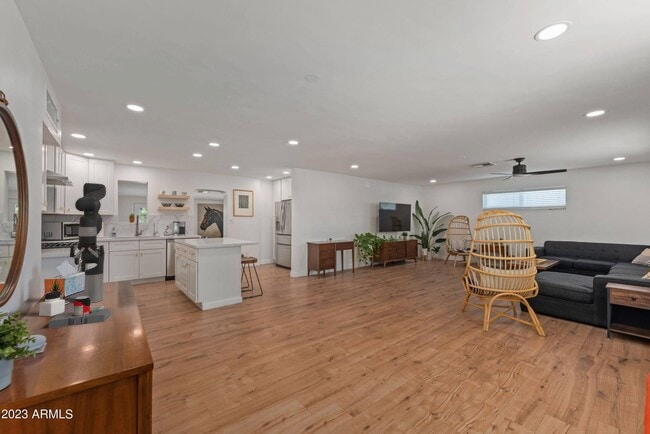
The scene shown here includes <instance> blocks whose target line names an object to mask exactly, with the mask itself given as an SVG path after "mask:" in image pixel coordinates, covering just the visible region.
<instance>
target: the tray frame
mask: <svg viewBox="0 0 650 434" xmlns="http://www.w3.org/2000/svg"><path fill="white" fill-rule="evenodd" d="M97 309H105V305H98V306H90V310H97ZM72 312H74V310H73V311H72Z"/></svg>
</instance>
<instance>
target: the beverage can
mask: <svg viewBox="0 0 650 434" xmlns="http://www.w3.org/2000/svg"><path fill="white" fill-rule="evenodd" d="M90 307H91V303H90V299H89V296H84V295H83V296H78V297H75V299H74V301H73V311H74V313H73V316H74V317H77V316H84V315H88V314H90Z"/></svg>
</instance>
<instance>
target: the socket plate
mask: <svg viewBox="0 0 650 434" xmlns="http://www.w3.org/2000/svg"><path fill="white" fill-rule="evenodd" d="M111 310H112V308H111V307H107V308H104V309H97V310H90V314H88V315H84V316H77V317H74V316H73V313H74V312H73V311H71V312H69V311H68V312H64V313H60V314H57V315H54V316H53V317H52V318H50V319H49V320H48V329H54V328H63V327H69V326H80V325H85V324H96V323H97V324H98V323H104V322H105V321H107V319H108V318H109V317H110V316H111V312H112V311H111Z"/></svg>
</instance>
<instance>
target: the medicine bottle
mask: <svg viewBox="0 0 650 434" xmlns="http://www.w3.org/2000/svg"><path fill="white" fill-rule="evenodd" d="M65 307H66V300H65V299H63V298H61V291H57V290H55V291H48V292H46V293H45V294H44V301H41V302H39V316H40V317H55V316H57V315H58V314H60V313H65V312H66V311H65Z"/></svg>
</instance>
